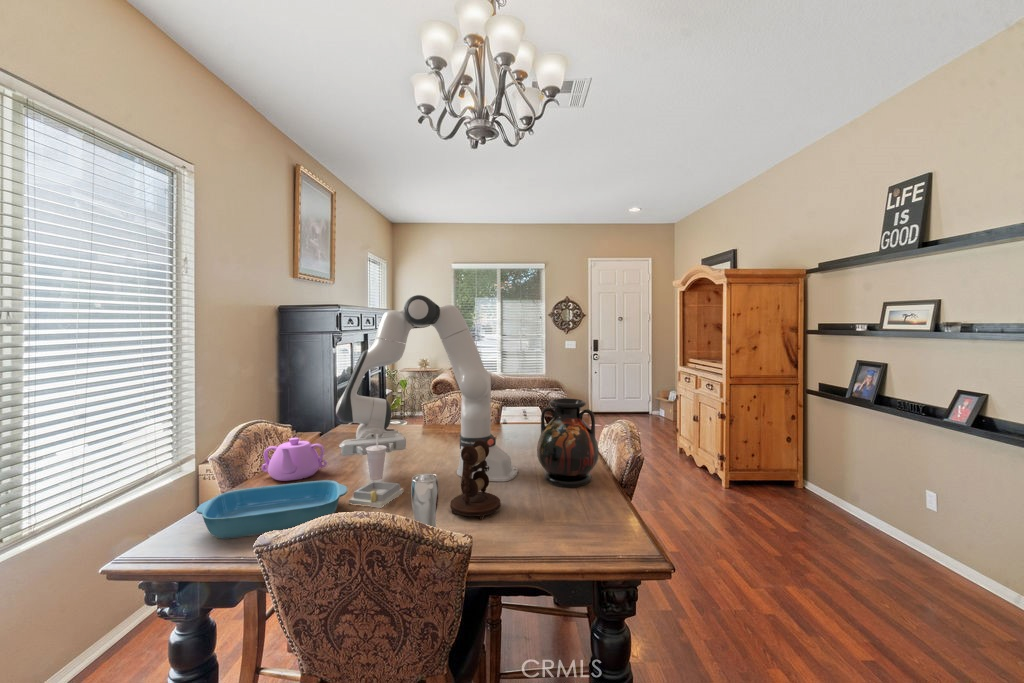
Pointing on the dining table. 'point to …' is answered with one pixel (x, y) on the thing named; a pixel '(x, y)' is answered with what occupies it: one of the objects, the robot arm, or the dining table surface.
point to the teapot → (293, 460)
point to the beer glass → (425, 498)
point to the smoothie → (376, 460)
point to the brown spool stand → (475, 484)
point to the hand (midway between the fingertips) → (376, 451)
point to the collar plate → (376, 494)
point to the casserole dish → (269, 508)
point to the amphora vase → (567, 444)
